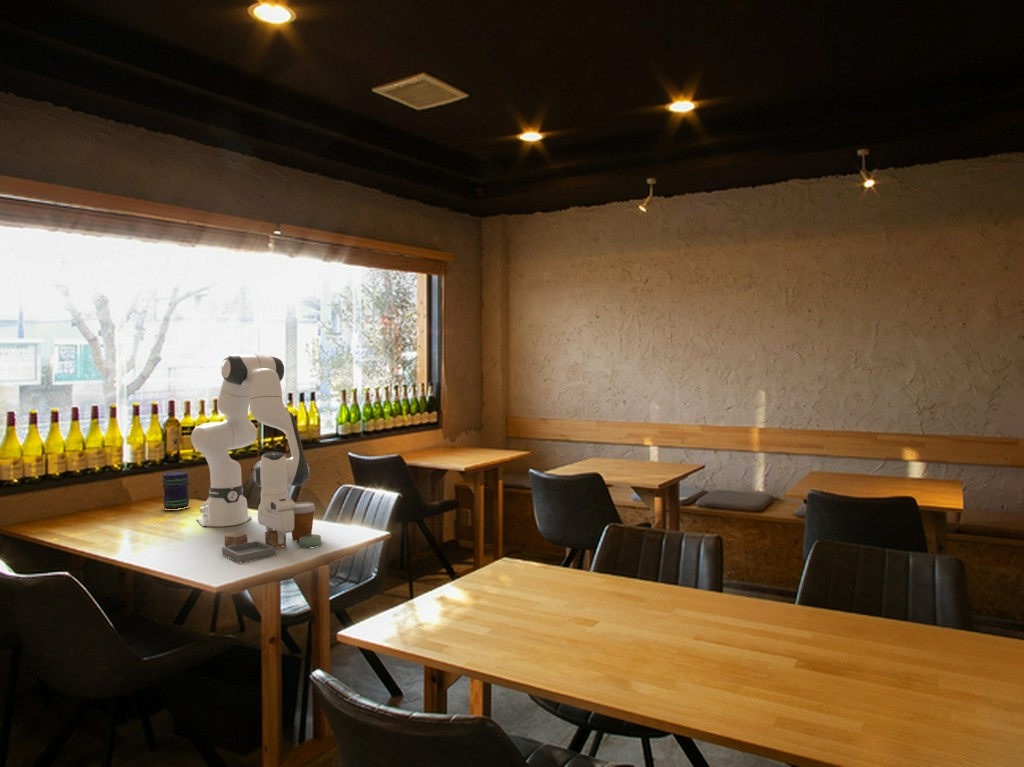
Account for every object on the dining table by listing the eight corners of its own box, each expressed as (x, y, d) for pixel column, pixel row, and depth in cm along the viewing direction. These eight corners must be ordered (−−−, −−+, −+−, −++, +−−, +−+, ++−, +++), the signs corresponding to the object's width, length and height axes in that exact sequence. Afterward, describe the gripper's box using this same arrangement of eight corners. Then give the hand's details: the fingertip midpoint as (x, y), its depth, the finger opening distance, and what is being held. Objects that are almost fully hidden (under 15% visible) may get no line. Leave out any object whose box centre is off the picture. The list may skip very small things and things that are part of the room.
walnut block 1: (225, 550, 245) (224, 535, 245) (236, 546, 249) (236, 532, 249) (235, 552, 243) (235, 537, 242) (247, 548, 247) (247, 533, 247)
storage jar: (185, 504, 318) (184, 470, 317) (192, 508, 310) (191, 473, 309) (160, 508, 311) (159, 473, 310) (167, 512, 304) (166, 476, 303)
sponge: (296, 545, 250) (295, 537, 250) (315, 541, 255) (314, 533, 255) (305, 549, 245) (305, 540, 245) (324, 545, 250) (324, 537, 250)
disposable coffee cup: (319, 535, 263) (319, 502, 262) (310, 542, 253) (309, 508, 253) (294, 535, 264) (293, 501, 263) (283, 542, 254) (282, 507, 254)
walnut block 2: (265, 546, 249) (265, 531, 249) (279, 543, 252) (279, 529, 252) (272, 549, 245) (271, 534, 245) (286, 546, 249) (285, 531, 249)
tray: (222, 554, 239) (222, 547, 239) (258, 547, 247) (258, 540, 247) (238, 563, 230) (238, 555, 230) (275, 555, 238) (275, 547, 238)
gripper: (252, 497, 254) (253, 537, 254) (279, 506, 239) (280, 549, 239) (270, 495, 258) (271, 534, 259) (297, 503, 243) (298, 545, 244)
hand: (275, 541), depth 249 cm, fingers closed on walnut block 2, 5 cm apart
